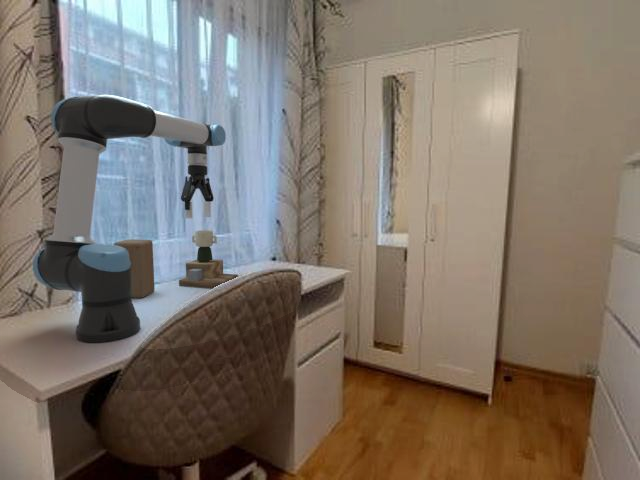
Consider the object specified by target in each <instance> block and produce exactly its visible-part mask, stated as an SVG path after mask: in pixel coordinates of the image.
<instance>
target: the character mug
mask: <svg viewBox="0 0 640 480" xmlns="http://www.w3.org/2000/svg"><path fill="white" fill-rule="evenodd" d="M217 241H218V239H217V235H216V234H215V235H214V231H213V230H207V229H204V230H203V229H202V230H195V234H192V235H191V242H192V243H194V244H195V247H198V249H197V256H196V260H198V261H207V262H209V260H214V259H213V253H212V248H211V247H212V246H213V245H214V244H217Z"/></svg>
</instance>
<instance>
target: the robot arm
mask: <svg viewBox="0 0 640 480" xmlns="http://www.w3.org/2000/svg"><path fill="white" fill-rule="evenodd" d="M50 120H51V121H50V122H51V126H52V128H54V132H55V133H56V134H57V135H58V138H57V142H58V143H60V145H61V146H62V147H63V153H62V161H61V166H60V168H61V169H60V174H59V175H60V177H59V183H58V184H59V185H58V193H57V203H56V208H55V210H56V211H55V218H54V228H53V233H52V235H50V236H48V237H47V238H45V243H44V244H45V245H44V247H43V248H41V249H40V250H39V252H37V253H36V254H35V256H34V258H33V262H32V272H33V274H34V277H35V279H36V280H37V281H38V282H39V283H41V285H43V286H44V287H47V288H50V289H54V290H58V291H68V292H69V291H71V292H78V293H81V294H80V296H81V307H82V308H81V312H80V315H79V320H78V324H77V325H76V328H75V337H76V339H77V340H78V341H80V342H83V343H106V342H113V341H117V340H118V341H119V340H123V339H125V338H128V337H131V336H133V335H135V334H137V333H138V332H139V331H140V330H141V320H140V318H139V316H138V315H137V312H136V309H135V306H134V303H133V298H132V293H131V262H130V258H129V252H128V251H127V250H126V249H125V248H123V247H121V246H117V245H114V244H107V243H106V244H104V243H96V242H95V241H94V240H93V239H92V238H91V229H92V222H93V212H94V203H95V195H96V194H95V193H96V187H97V178H98V169H99V161H100V155H101V154H102V153H104V152H106V150H107V146H108V145H107V143H108V140H113V139H124V138H142V139H147V138H150V137H156V138H162V139H164V141H165V142H166V143H167V145H169V146H173V147H178V148H182V149H187V164H188V165H187V174H188V176H187V175H185V176H184V177H185V178H184V179H185V181H184V185H183V189H182V192H181V195H180V200H181V202H184V213H185V216H184V217H185V219H193V201H192V199H193V197H194V194H195V193H196V190H197V189H198V190H199V191H200V193H201V195H202V197H203V199H204V201H203V216H204V217H205V218H210V217H211V216H212V215H211V214H212V213H211V212H212V209H211V207H212V206H211V204H212V203H211V202H214V200H215V198H214V193H213V190H212V187H211V184H210V178H209V177H206V176H207V175H208V166H207V165H208V153H207V151H208V149H207V148H208V147H219V146H223V145H224V144H225V142H226V134H227V133H226V131H225V128H224V127H223V125H221V124H214V123H213V124H207V123H202V122H199V121H195V120H191V119H187V118H183V117H180V116H176V115H174V114H169V113H165V112H161V111H158V110H155V109H153V107H152V106H150V105H149V104H146V103H144V102H143V103H142V102H139V101H136V100H132V99H130V98H125V97H122V96H118V95H112V94H111V95H110V94H98V95H89V96H87V95H86V96H72V97H69V98H68V97H67V98H64V99H62V100H60V101H58V102H57V103H56V104H55V105H54V107H52V110H51V113H50Z"/></svg>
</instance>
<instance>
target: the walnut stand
mask: <svg viewBox="0 0 640 480" xmlns="http://www.w3.org/2000/svg"><path fill="white" fill-rule="evenodd" d="M191 269H202V270H203V279H201V280H198V281H191V280H188V270H191ZM236 277H238V278H239V275H238V274H232V273H224V260H223V259H213V260H209V262H207V261H198V260H197V259H195V260H191V261H188V262H186V263H185V277H183V278H180V279H179V280H178V286H179V287H188V288H198V289H199V288H201V289H210V290H211V289H212V288H214V287H216V286H218V285H220V284H222V283H225V282H227V281H229V280H232V279H234V278H236Z"/></svg>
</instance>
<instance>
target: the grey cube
mask: <svg viewBox="0 0 640 480" xmlns="http://www.w3.org/2000/svg"><path fill="white" fill-rule="evenodd" d="M201 279H203V270H202V269H191V270H188V280H191V281H198V280H201Z"/></svg>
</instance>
